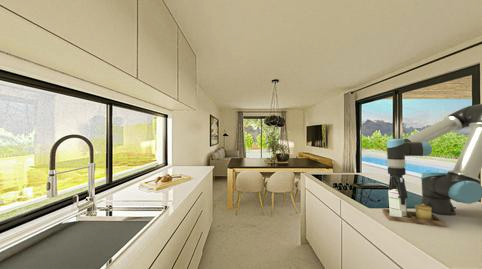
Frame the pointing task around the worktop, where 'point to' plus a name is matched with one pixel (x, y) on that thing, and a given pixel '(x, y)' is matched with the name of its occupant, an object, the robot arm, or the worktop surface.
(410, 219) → the caddy
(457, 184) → the robot arm
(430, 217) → the honey pot
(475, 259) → the worktop surface
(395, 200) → the syrup box
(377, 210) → the worktop surface
